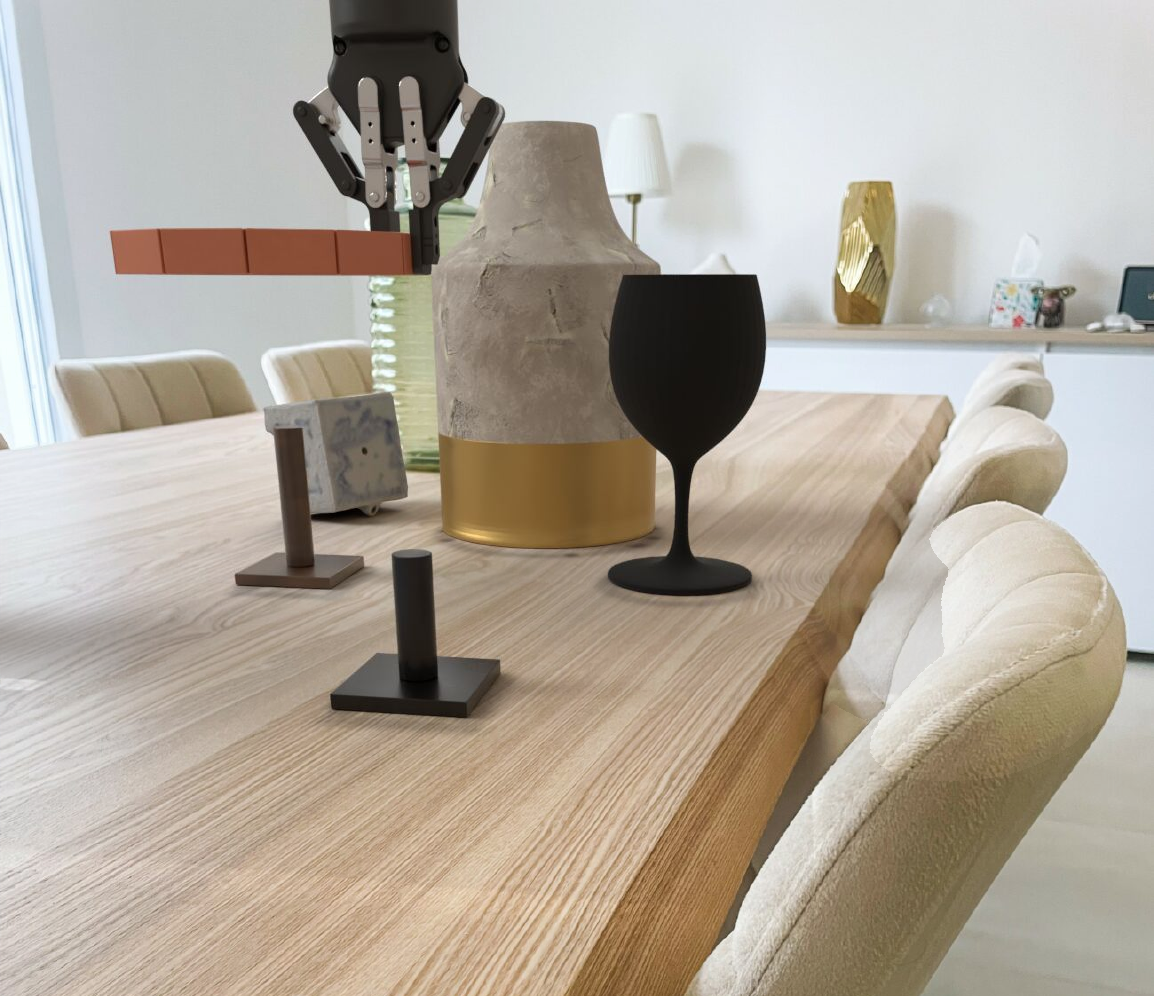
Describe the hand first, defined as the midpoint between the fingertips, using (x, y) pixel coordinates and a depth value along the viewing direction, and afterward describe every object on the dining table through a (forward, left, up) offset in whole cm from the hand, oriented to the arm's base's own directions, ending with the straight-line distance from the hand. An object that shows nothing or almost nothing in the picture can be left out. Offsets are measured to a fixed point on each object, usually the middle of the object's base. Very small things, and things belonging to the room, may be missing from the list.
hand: (407, 273), depth 74 cm
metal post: (+7, -23, -20) cm, 31 cm away
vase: (+5, +21, -20) cm, 30 cm away
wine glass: (+18, +4, -20) cm, 27 cm away
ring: (-9, 0, 0) cm, 9 cm away
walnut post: (-9, 0, -20) cm, 22 cm away
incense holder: (-15, +24, -20) cm, 35 cm away
